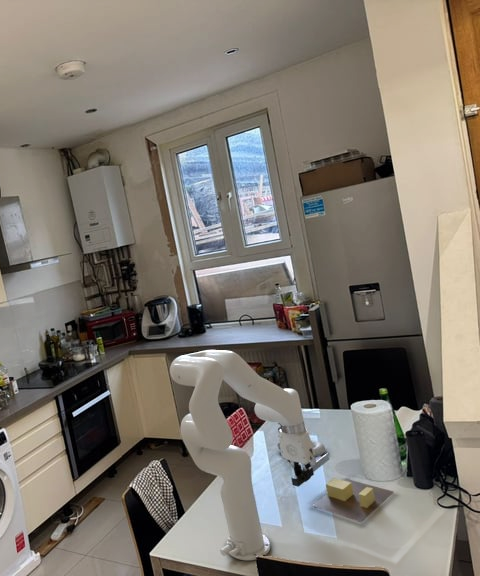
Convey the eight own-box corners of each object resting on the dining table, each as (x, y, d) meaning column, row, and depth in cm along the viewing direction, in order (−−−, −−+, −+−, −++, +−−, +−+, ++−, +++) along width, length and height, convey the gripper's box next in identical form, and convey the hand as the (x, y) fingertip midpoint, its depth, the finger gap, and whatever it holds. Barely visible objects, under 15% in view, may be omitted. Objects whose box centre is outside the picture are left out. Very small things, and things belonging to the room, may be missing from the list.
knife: (298, 486, 165) (296, 479, 165) (292, 485, 167) (291, 477, 167) (331, 460, 176) (330, 453, 176) (326, 458, 178) (324, 451, 178)
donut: (323, 459, 191) (327, 447, 199) (322, 451, 190) (325, 438, 199) (296, 458, 196) (300, 446, 205) (294, 450, 196) (299, 438, 204)
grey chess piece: (295, 455, 198) (289, 426, 197) (280, 457, 199) (274, 428, 198) (292, 449, 204) (287, 420, 203) (277, 451, 205) (272, 422, 204)
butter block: (345, 501, 160) (343, 489, 160) (327, 495, 165) (325, 484, 165) (353, 494, 163) (351, 482, 163) (336, 489, 168) (333, 477, 168)
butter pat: (367, 508, 155) (364, 495, 154) (360, 506, 156) (358, 494, 156) (375, 500, 157) (373, 488, 157) (368, 498, 159) (366, 486, 159)
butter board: (361, 526, 149) (361, 522, 149) (312, 509, 162) (311, 505, 162) (394, 495, 160) (394, 491, 160) (345, 481, 173) (345, 478, 173)
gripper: (265, 426, 171) (276, 477, 173) (307, 435, 158) (319, 490, 160) (278, 418, 175) (289, 467, 177) (321, 426, 162) (332, 480, 164)
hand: (303, 478), depth 168 cm, fingers closed on knife, 2 cm apart
